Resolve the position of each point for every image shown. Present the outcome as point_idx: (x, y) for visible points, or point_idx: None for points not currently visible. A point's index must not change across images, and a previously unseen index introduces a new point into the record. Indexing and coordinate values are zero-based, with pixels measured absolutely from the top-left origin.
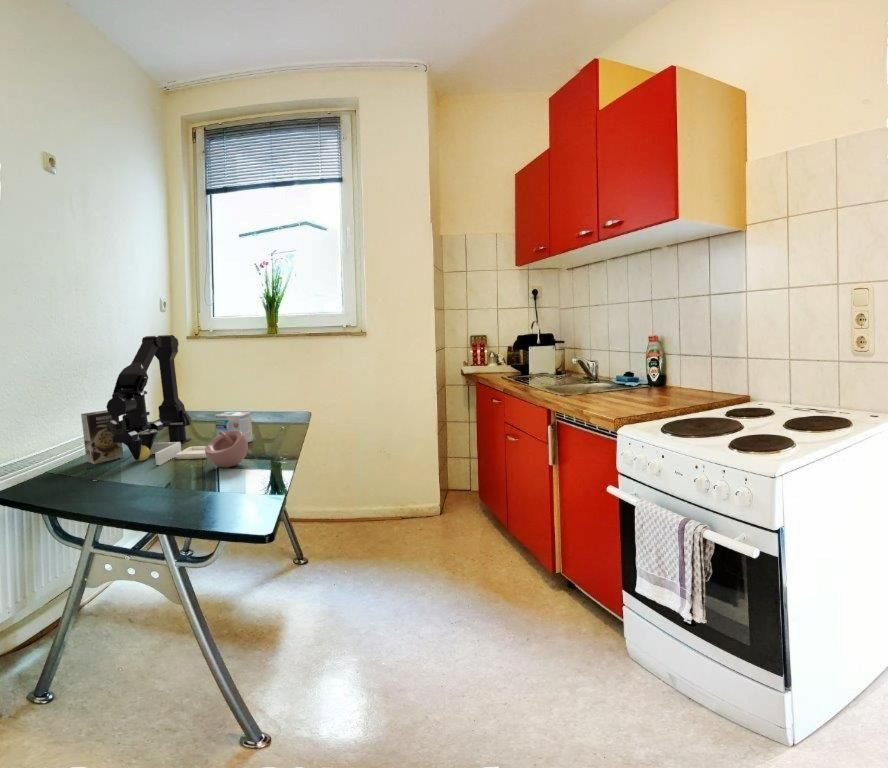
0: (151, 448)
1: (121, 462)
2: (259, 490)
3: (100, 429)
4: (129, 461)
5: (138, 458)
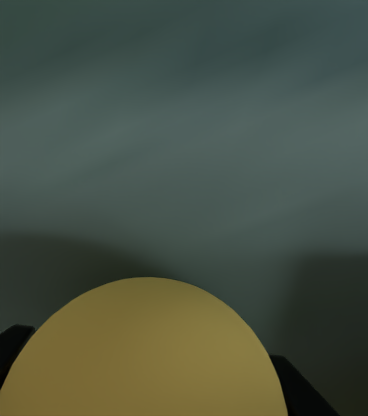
0: None
1: (128, 52)
2: None
3: None
4: (159, 168)
5: None
